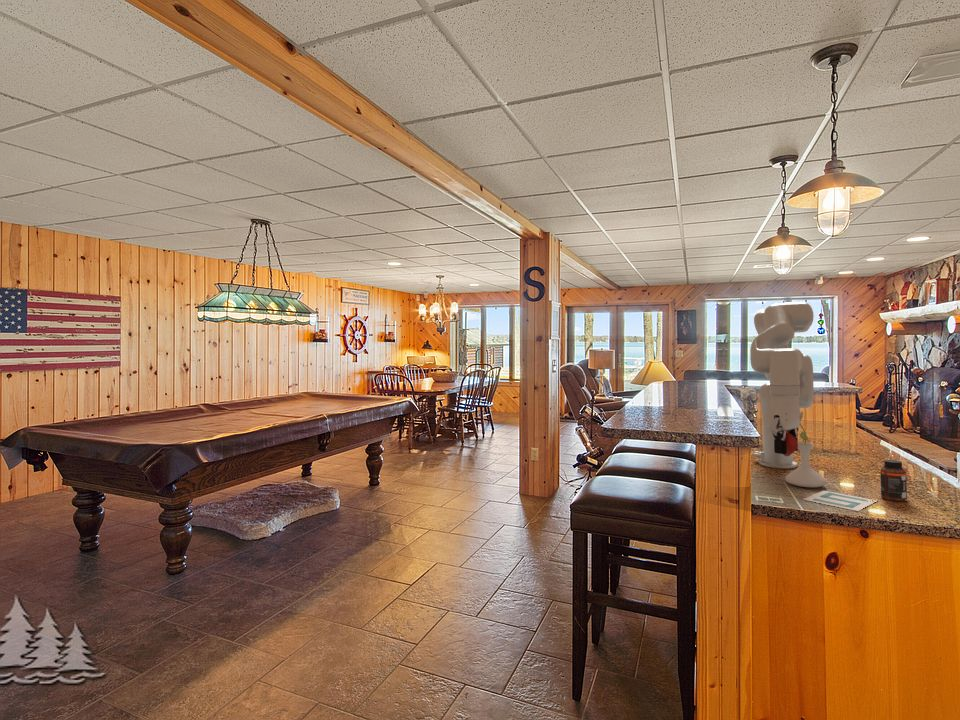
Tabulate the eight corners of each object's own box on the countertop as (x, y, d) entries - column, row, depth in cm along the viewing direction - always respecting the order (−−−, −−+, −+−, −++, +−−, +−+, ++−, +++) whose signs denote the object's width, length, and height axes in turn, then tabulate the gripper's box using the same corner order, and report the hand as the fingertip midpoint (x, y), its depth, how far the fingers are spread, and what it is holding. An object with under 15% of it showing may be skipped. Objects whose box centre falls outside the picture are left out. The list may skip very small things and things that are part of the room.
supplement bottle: (912, 502, 144) (911, 463, 143) (888, 501, 145) (887, 463, 145) (899, 496, 149) (898, 458, 149) (876, 495, 151) (875, 458, 150)
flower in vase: (790, 479, 172) (788, 406, 171) (830, 484, 164) (828, 408, 163) (779, 487, 163) (777, 411, 162) (821, 493, 154) (819, 413, 154)
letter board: (802, 499, 149) (802, 499, 149) (823, 491, 157) (823, 490, 157) (858, 511, 138) (858, 510, 138) (877, 501, 145) (877, 500, 145)
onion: (770, 454, 150) (770, 428, 150) (788, 453, 151) (788, 427, 151) (784, 458, 145) (783, 431, 144) (802, 457, 145) (802, 430, 145)
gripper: (785, 388, 155) (786, 446, 156) (756, 392, 146) (758, 454, 146) (812, 389, 149) (813, 449, 149) (783, 394, 140) (785, 458, 140)
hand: (786, 451), depth 148 cm, fingers closed on onion, 5 cm apart
